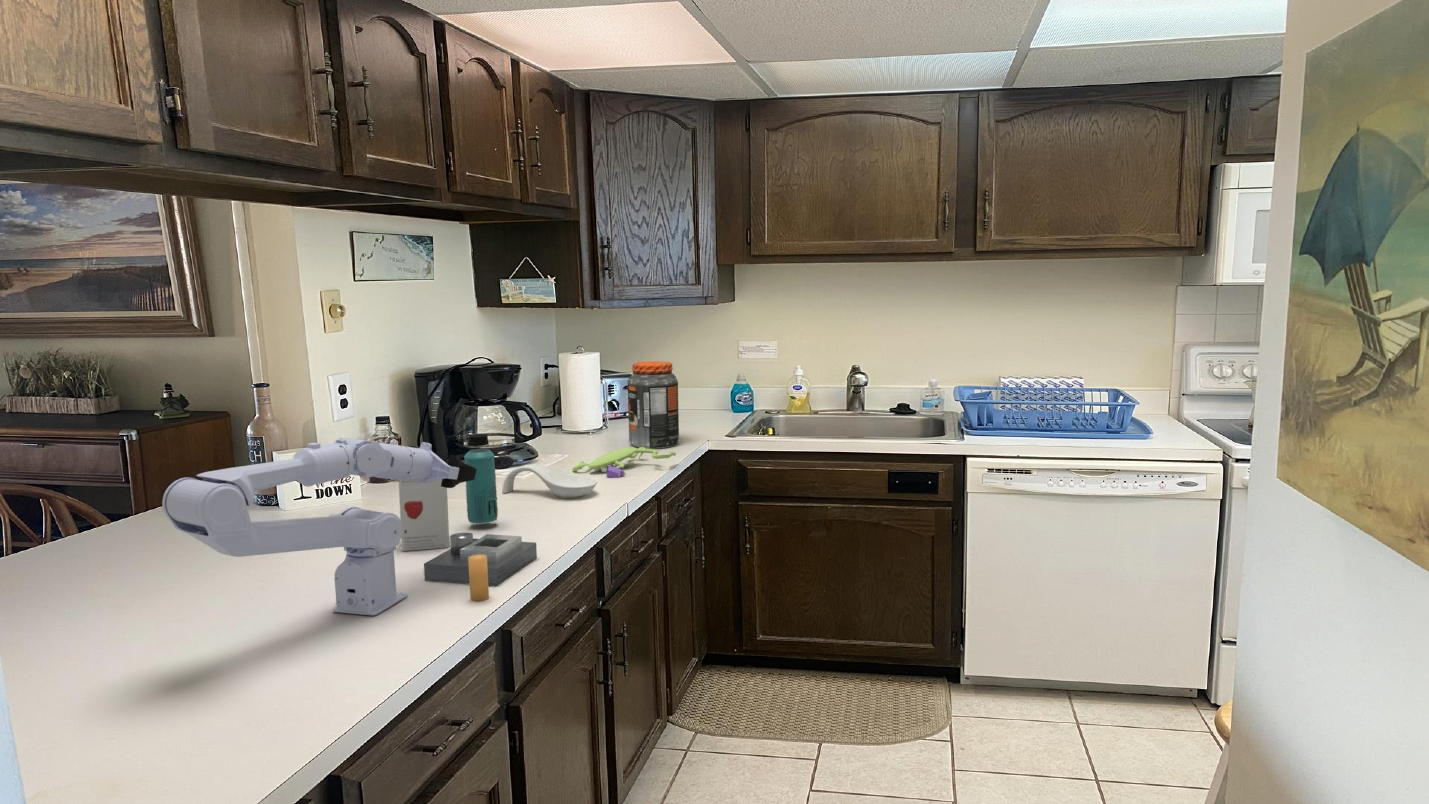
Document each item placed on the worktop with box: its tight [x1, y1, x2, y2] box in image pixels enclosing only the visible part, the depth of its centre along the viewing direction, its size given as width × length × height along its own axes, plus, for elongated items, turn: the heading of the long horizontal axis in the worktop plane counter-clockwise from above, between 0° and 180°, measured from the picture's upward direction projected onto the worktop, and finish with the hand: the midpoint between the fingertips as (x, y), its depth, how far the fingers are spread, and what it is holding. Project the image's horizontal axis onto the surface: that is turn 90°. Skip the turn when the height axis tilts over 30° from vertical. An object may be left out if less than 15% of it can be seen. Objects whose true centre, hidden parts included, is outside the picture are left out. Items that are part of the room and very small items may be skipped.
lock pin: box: [468, 554, 490, 602], centre depth 151 cm, size 3×3×7 cm
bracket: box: [460, 533, 523, 563], centre depth 166 cm, size 10×7×2 cm
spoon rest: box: [501, 464, 597, 499], centre depth 223 cm, size 24×12×7 cm, turn 77°
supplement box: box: [398, 479, 450, 552], centre depth 182 cm, size 9×9×15 cm
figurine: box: [572, 446, 677, 478], centre depth 252 cm, size 18×27×6 cm
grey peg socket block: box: [423, 532, 538, 587], centre depth 167 cm, size 16×14×6 cm
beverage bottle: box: [463, 433, 499, 524], centre depth 194 cm, size 6×7×20 cm
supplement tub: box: [627, 361, 680, 450], centre depth 285 cm, size 16×16×26 cm
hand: (458, 470), depth 165 cm, fingers open, 7 cm apart
